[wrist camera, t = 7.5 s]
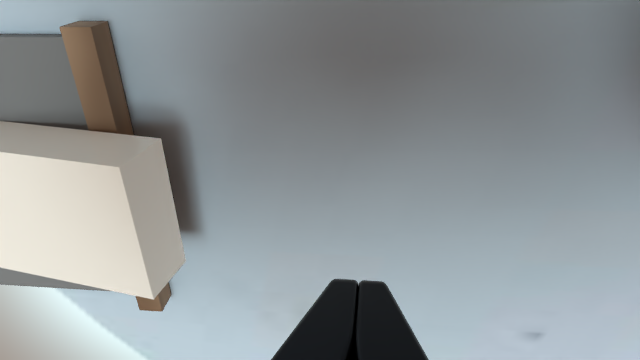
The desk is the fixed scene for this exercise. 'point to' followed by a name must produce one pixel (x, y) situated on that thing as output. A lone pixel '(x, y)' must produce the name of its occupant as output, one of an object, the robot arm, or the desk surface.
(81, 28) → the walnut rail
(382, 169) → the desk surface
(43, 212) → the cream rectangular block
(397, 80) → the desk surface
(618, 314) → the desk surface
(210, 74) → the desk surface
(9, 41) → the charcoal mat
